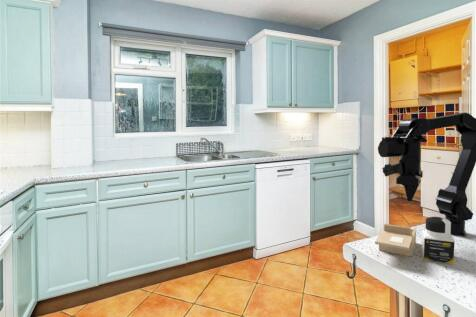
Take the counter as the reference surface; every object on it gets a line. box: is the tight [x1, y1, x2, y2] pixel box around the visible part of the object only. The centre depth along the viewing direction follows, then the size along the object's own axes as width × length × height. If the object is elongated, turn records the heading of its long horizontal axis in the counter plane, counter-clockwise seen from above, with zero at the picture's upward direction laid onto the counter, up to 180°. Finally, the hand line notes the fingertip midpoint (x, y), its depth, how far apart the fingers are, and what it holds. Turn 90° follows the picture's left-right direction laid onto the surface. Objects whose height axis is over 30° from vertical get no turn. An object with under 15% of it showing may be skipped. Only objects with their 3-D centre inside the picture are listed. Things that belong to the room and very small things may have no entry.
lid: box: [374, 223, 413, 250], centre depth 88 cm, size 12×9×3 cm
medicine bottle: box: [421, 216, 455, 265], centre depth 86 cm, size 7×7×12 cm
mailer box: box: [378, 228, 417, 257], centre depth 94 cm, size 12×9×5 cm
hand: (409, 200), depth 101 cm, fingers closed
